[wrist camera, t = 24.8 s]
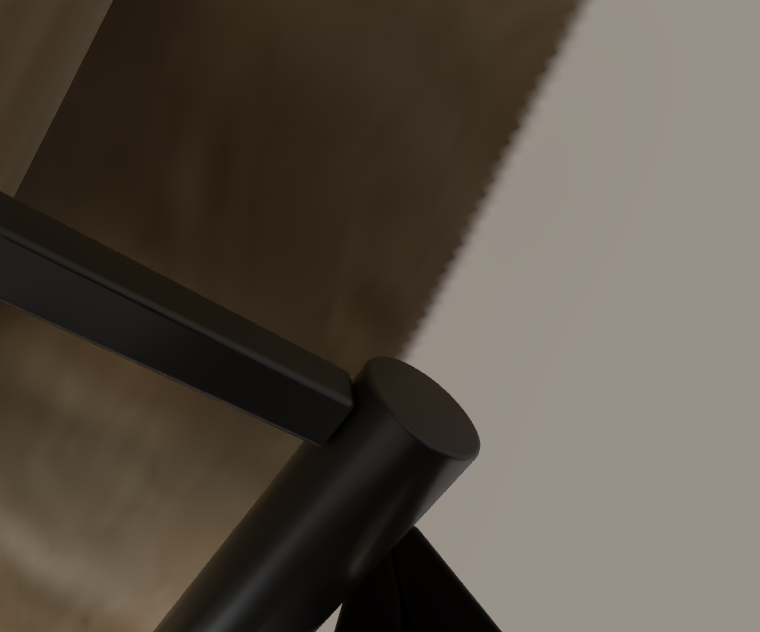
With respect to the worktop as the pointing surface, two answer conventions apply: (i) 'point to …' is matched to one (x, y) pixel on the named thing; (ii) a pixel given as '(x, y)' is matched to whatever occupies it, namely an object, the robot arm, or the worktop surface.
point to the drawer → (226, 376)
